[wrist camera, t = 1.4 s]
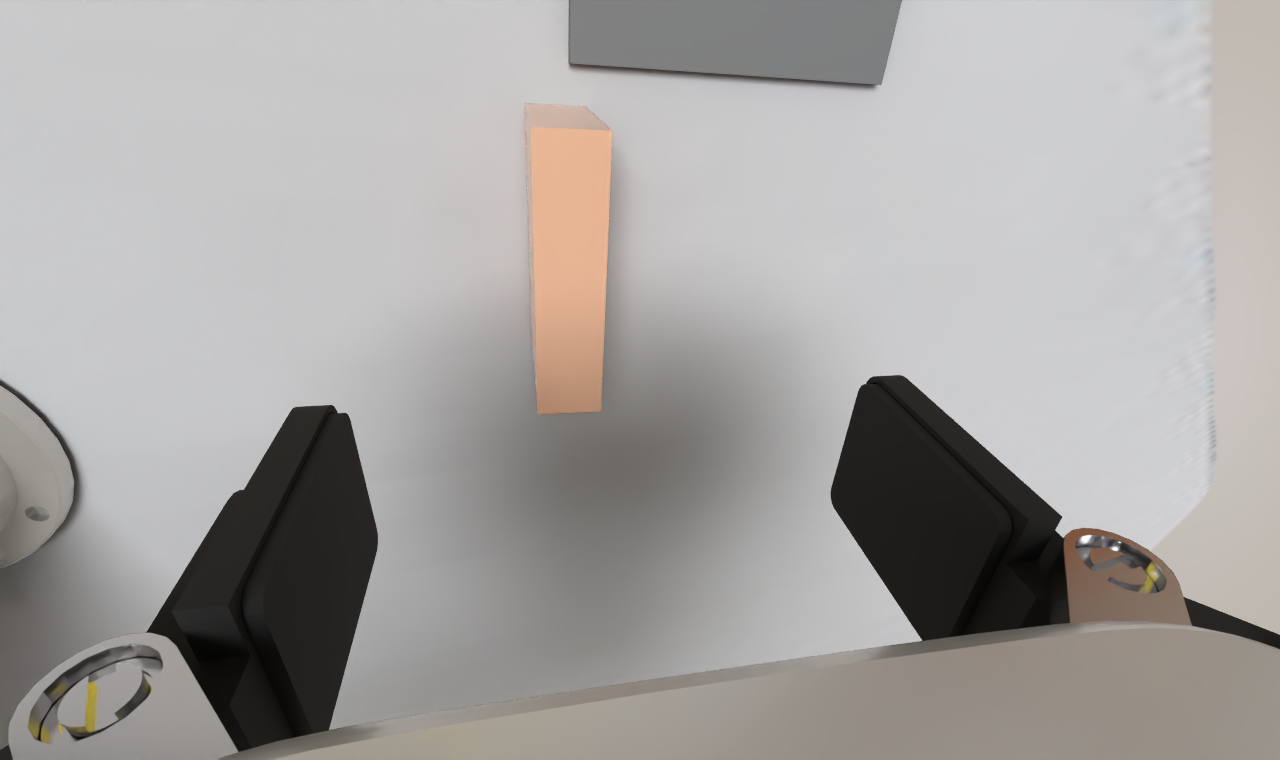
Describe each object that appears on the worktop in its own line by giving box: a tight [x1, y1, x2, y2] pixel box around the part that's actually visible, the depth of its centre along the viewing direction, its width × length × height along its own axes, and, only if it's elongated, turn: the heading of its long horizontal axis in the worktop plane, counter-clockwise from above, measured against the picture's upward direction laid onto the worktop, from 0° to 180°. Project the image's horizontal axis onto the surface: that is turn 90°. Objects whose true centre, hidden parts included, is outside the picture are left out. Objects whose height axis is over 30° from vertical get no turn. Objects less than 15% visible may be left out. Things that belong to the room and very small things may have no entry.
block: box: [525, 103, 612, 414], centre depth 23 cm, size 10×2×7 cm, turn 176°
